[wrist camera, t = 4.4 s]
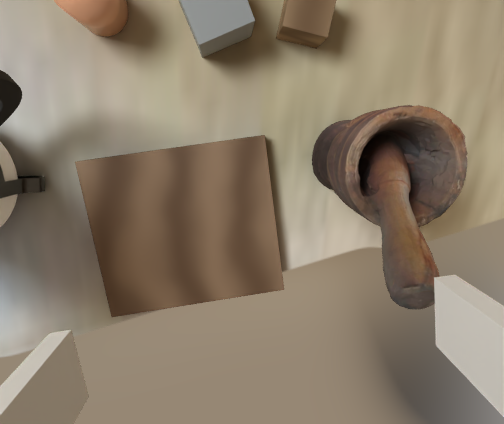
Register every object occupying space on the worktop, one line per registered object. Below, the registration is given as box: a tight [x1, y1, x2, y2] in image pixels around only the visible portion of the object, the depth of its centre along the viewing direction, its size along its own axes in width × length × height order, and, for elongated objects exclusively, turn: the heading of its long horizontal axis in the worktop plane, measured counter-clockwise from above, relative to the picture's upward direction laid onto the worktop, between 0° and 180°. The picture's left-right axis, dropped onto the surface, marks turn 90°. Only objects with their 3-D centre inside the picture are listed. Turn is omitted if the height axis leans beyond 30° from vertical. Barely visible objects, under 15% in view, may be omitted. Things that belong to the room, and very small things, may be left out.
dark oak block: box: [276, 0, 336, 48], centre depth 33 cm, size 4×4×4 cm
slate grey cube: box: [179, 0, 255, 58], centre depth 32 cm, size 5×5×5 cm
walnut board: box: [75, 135, 284, 317], centre depth 37 cm, size 18×16×2 cm
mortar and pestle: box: [312, 105, 467, 309], centre depth 28 cm, size 12×9×20 cm
